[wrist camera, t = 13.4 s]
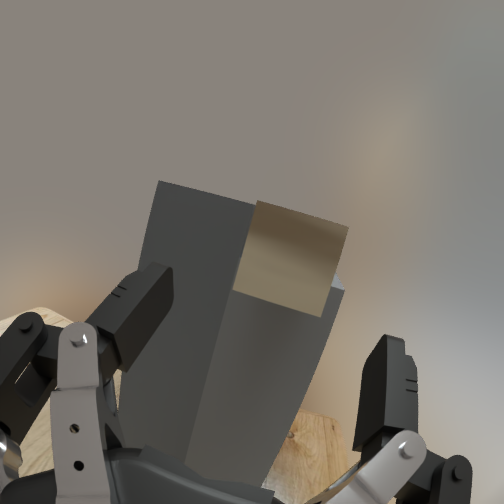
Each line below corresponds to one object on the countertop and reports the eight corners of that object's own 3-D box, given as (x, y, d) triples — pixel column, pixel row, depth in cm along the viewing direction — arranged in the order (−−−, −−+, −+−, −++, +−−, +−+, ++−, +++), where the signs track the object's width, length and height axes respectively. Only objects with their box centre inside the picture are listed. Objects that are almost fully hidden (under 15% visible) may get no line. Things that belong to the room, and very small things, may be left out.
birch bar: (320, 317, 13) (349, 227, 12) (232, 289, 14) (257, 200, 13) (316, 261, 36) (325, 228, 36) (284, 251, 37) (293, 219, 37)
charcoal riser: (243, 516, 25) (361, 236, 21) (116, 463, 28) (158, 180, 24) (266, 440, 41) (341, 233, 37) (168, 404, 43) (217, 198, 39)
